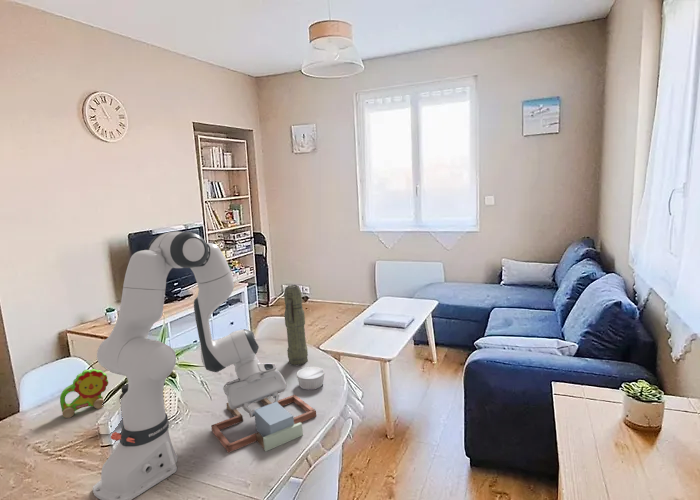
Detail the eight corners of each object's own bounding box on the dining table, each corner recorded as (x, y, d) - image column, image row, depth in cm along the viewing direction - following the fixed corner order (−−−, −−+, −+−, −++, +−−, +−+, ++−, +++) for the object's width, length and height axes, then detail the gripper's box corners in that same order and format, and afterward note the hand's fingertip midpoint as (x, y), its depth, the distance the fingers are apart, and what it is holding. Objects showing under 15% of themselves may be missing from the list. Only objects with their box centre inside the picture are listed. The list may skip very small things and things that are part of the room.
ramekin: (321, 392, 166) (320, 379, 165) (293, 390, 168) (292, 378, 168) (328, 378, 177) (327, 366, 176) (302, 378, 179) (301, 366, 179)
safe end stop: (264, 449, 132) (263, 437, 131) (301, 433, 139) (300, 422, 138) (266, 451, 131) (264, 439, 130) (303, 435, 138) (302, 423, 137)
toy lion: (63, 420, 157) (56, 380, 154) (62, 414, 161) (55, 375, 159) (112, 405, 166) (106, 367, 163) (110, 399, 170) (104, 363, 168)
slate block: (256, 429, 143) (254, 409, 142) (278, 420, 147) (276, 401, 146) (272, 446, 133) (270, 425, 132) (295, 436, 138) (293, 415, 137)
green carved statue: (285, 367, 191) (278, 290, 185) (291, 356, 202) (285, 283, 197) (305, 366, 190) (299, 289, 184) (310, 356, 201) (304, 282, 196)
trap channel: (201, 417, 153) (200, 411, 153) (281, 388, 170) (280, 384, 170) (235, 462, 127) (234, 455, 126) (325, 423, 144) (324, 417, 144)
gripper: (223, 380, 143) (237, 419, 137) (279, 362, 155) (294, 397, 149) (220, 388, 148) (233, 426, 141) (274, 370, 159) (289, 404, 153)
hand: (265, 411), depth 145 cm, fingers open, 7 cm apart
